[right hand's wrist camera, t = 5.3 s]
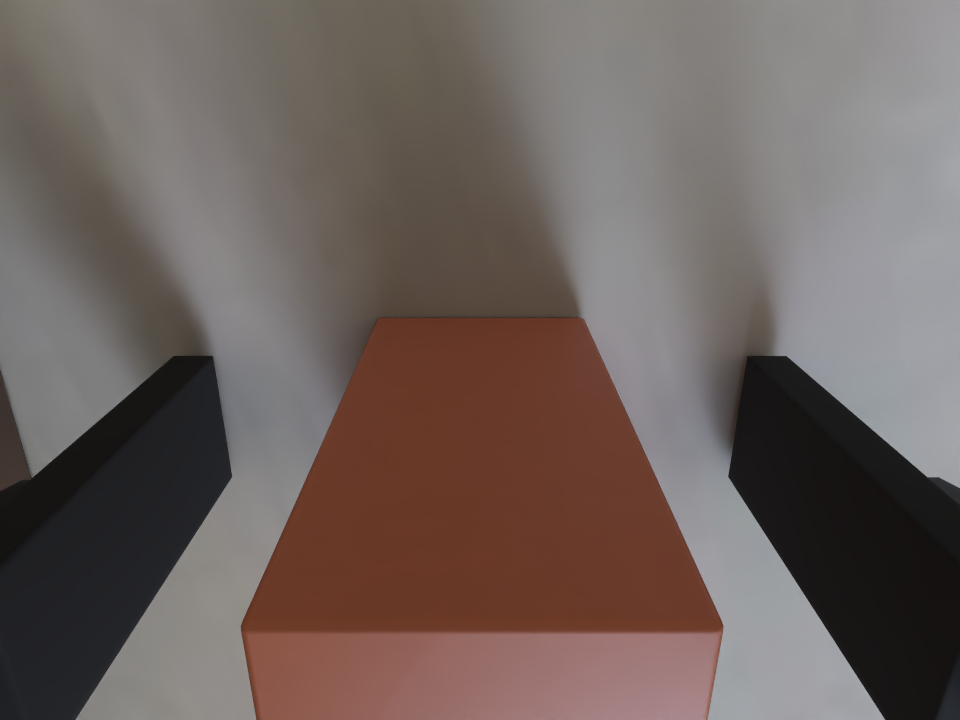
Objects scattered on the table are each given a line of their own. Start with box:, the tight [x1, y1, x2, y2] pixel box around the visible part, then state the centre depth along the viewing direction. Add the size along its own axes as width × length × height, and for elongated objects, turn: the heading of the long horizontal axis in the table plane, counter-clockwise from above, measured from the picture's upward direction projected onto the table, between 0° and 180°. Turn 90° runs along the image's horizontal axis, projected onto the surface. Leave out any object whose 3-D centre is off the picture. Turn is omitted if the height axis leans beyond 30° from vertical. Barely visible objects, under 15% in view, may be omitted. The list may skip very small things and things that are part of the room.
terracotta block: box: [241, 318, 723, 720], centre depth 10 cm, size 4×4×8 cm
